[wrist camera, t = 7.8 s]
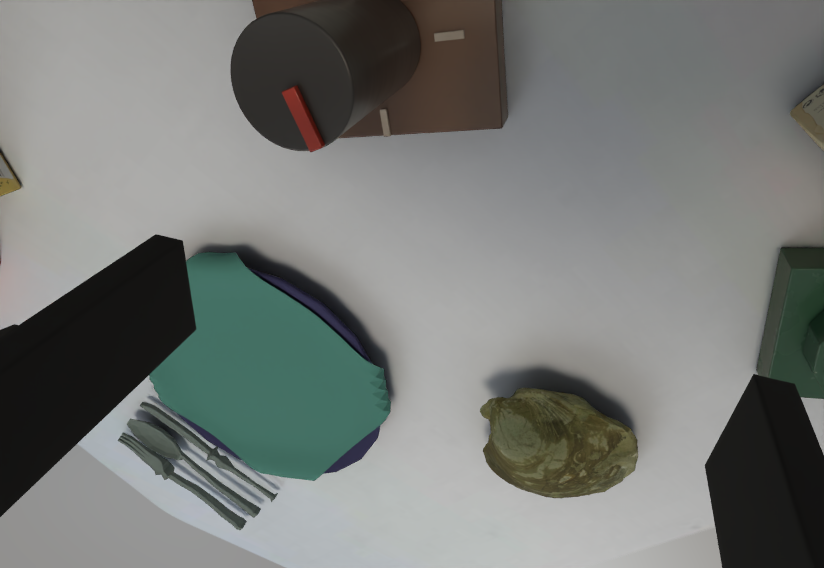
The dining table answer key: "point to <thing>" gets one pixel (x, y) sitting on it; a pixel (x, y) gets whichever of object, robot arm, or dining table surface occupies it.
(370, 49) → the dial
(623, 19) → the dining table surface
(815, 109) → the cosmetic box
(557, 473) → the seashell
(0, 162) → the candy box
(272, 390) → the cutlery set
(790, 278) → the button box
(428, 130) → the panel
